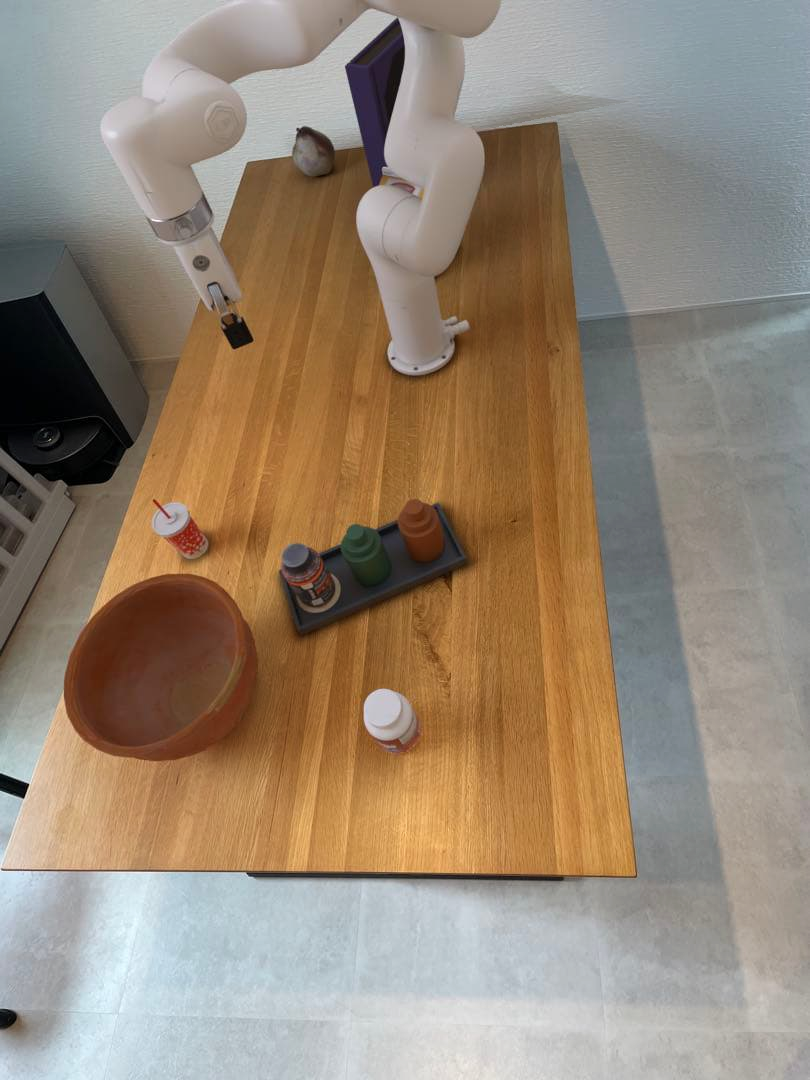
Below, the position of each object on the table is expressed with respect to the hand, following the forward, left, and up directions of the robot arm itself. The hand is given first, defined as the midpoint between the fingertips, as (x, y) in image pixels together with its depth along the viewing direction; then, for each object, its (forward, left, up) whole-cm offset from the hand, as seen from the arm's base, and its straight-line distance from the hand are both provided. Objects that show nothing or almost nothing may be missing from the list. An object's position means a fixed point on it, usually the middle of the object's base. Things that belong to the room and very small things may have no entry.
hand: (235, 323), depth 97 cm
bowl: (+26, +38, -28) cm, 54 cm away
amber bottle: (-13, +30, -28) cm, 43 cm away
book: (-47, -61, -28) cm, 82 cm away
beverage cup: (+22, +12, -28) cm, 38 cm away
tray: (-4, +30, -28) cm, 41 cm away
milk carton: (-38, -35, -28) cm, 59 cm away
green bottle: (-4, +30, -28) cm, 41 cm away
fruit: (-29, -81, -28) cm, 91 cm away
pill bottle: (+1, +55, -28) cm, 62 cm away
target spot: (+5, +30, -28) cm, 41 cm away
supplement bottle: (+5, +30, -28) cm, 41 cm away
